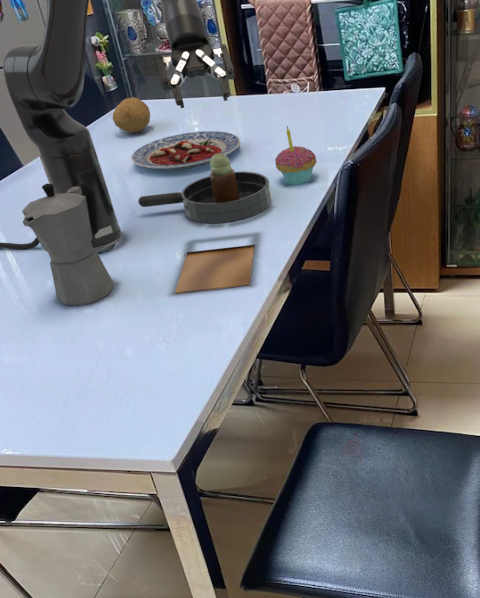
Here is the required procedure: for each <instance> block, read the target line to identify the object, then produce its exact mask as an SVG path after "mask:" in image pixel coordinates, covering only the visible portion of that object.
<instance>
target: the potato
mask: <svg viewBox="0 0 480 598" xmlns="http://www.w3.org/2000/svg"><path fill="white" fill-rule="evenodd" d="M112 120H113V123H114V125H115V126H116V127H117V128H118V129H120V130H121V131H123V132H126V133H131V134H132V133H139V132H142V131H144V130H145V128H146V127H147V126H148V124H149V123H150V121H151V111H150V109H149V106H148V105H147V104H146V102H144V101H143V100H141V99H140V98H137V97H126V98H125V99H123V100H121V102H119V104H117V106H116V107H115V108H114V111H113V112H112Z"/></svg>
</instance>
